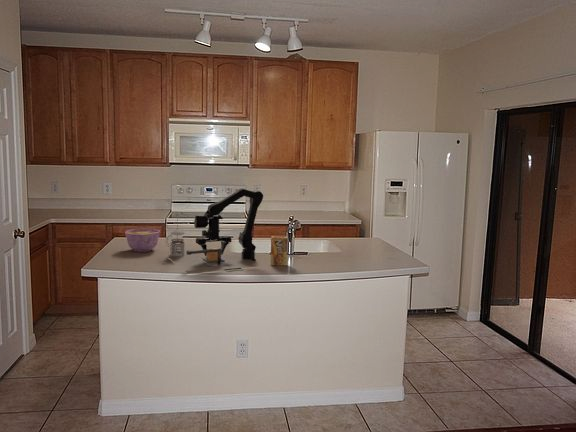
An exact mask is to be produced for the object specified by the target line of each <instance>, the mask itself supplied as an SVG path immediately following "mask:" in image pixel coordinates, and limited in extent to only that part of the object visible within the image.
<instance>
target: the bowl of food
mask: <svg viewBox="0 0 576 432" xmlns="http://www.w3.org/2000/svg"><path fill="white" fill-rule="evenodd" d="M160 231H161V230H159V229H156V228H133V229H128V230H125V232H124V234H125V238H126V241H127V244H128V246H129V248H130V249H132V250H134V251H136V252H138V253H139V252H140V253H145V252H150V251H151V250H153V249H154V248H156V247H157V245H158V242H159V238H160V233H161V232H160Z"/></svg>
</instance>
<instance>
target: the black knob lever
mask: <svg viewBox="0 0 576 432" xmlns="http://www.w3.org/2000/svg"><path fill="white" fill-rule="evenodd" d="M209 249H210V250H203V249H200V250H186V255H187V256H188V255H190V256H191V255H194V254H195V255H196V254H204V253H209V252H218V264H221V258H222V255H221V251H222V250H223V249H221V248H217V249H213V248H209Z"/></svg>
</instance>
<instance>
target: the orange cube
mask: <svg viewBox="0 0 576 432" xmlns="http://www.w3.org/2000/svg"><path fill="white" fill-rule="evenodd" d="M210 249H211V248H207V250H210ZM212 249H218V247H215V248H213V247H212ZM206 257H207V260H208V261H216V260H218V252H209V253H207V255H206Z"/></svg>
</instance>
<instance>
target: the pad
mask: <svg viewBox="0 0 576 432" xmlns="http://www.w3.org/2000/svg"><path fill="white" fill-rule="evenodd" d="M243 270H244V269H243V268H242V267H235V268H224V269H223V271H225V272H226V273H227V272H228V273H229V272H237V271H243Z"/></svg>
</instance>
